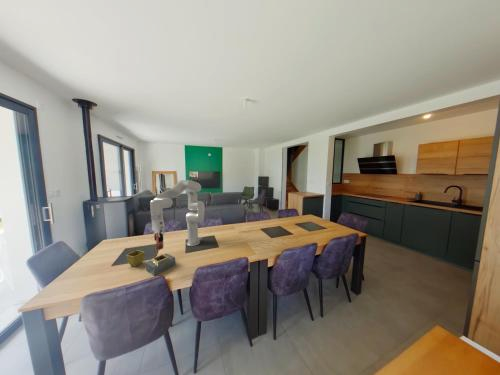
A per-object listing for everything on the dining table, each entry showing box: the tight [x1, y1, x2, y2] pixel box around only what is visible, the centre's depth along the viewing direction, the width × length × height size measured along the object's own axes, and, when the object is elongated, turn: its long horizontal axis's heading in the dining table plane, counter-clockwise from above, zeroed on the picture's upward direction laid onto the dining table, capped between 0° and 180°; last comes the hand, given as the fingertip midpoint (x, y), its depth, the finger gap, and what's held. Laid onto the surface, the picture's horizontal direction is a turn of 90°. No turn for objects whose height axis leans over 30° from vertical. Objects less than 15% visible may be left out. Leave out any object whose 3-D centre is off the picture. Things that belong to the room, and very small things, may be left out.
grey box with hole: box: [144, 253, 176, 276], centre depth 125 cm, size 16×12×8 cm
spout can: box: [155, 231, 165, 251], centre depth 124 cm, size 5×5×15 cm
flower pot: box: [125, 250, 145, 267], centre depth 130 cm, size 9×9×9 cm
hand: (159, 240), depth 123 cm, fingers closed on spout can, 4 cm apart
